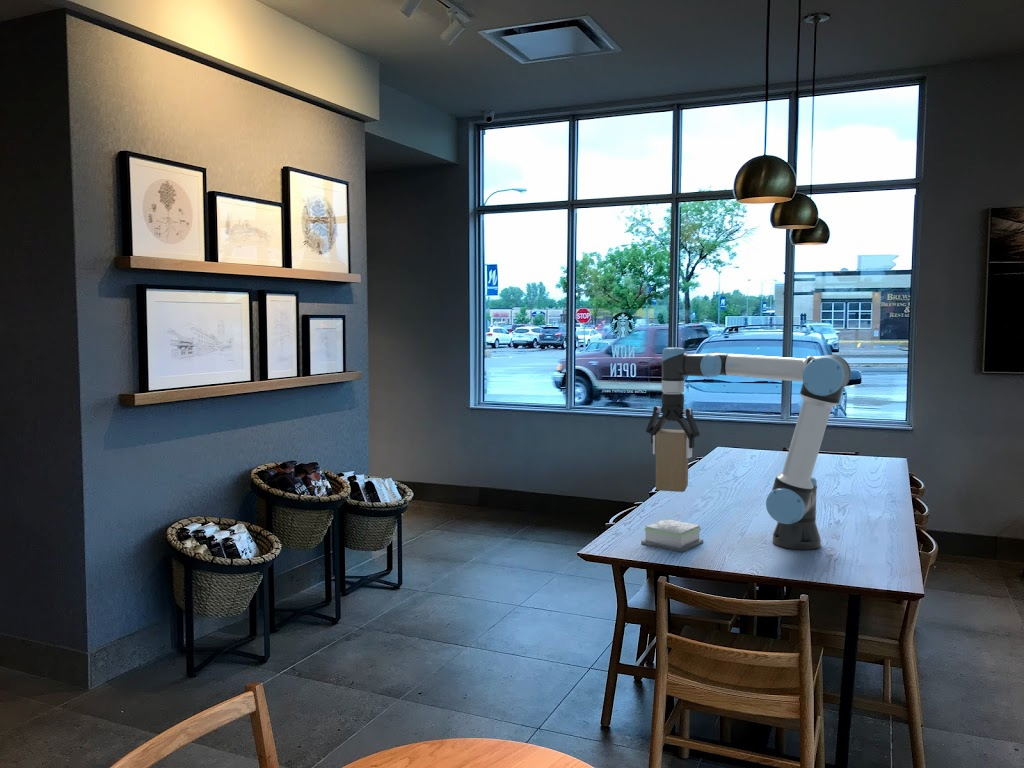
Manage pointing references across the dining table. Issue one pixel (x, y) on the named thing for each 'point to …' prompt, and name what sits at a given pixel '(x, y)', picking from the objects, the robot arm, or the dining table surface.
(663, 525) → the stand
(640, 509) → the dining table surface
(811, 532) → the robot arm
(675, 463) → the wooden block
